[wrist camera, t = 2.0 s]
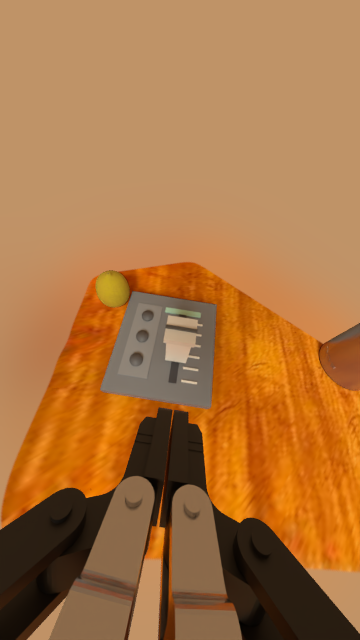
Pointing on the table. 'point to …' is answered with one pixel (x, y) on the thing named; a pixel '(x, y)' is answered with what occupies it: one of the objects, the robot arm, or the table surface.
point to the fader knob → (179, 338)
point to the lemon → (112, 288)
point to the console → (162, 353)
